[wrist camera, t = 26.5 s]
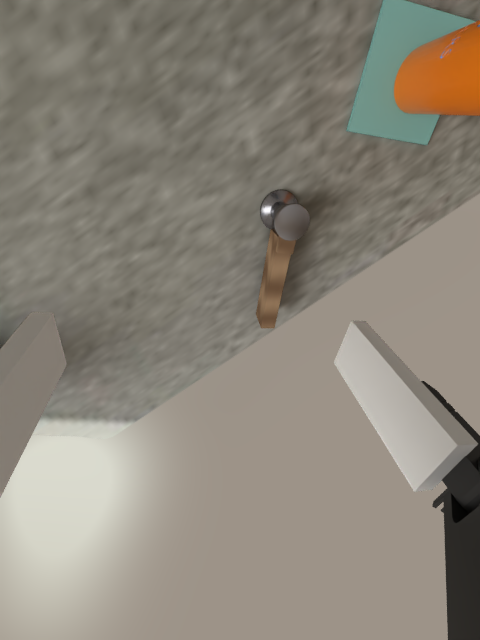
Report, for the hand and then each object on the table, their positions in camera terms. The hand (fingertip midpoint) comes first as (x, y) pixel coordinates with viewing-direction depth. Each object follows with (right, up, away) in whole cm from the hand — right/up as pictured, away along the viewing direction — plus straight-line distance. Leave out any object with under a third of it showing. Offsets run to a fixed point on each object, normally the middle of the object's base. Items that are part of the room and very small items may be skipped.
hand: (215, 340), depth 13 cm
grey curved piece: (+7, +18, +32) cm, 37 cm away
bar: (+7, +11, +35) cm, 37 cm away
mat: (+23, +33, +25) cm, 47 cm away
